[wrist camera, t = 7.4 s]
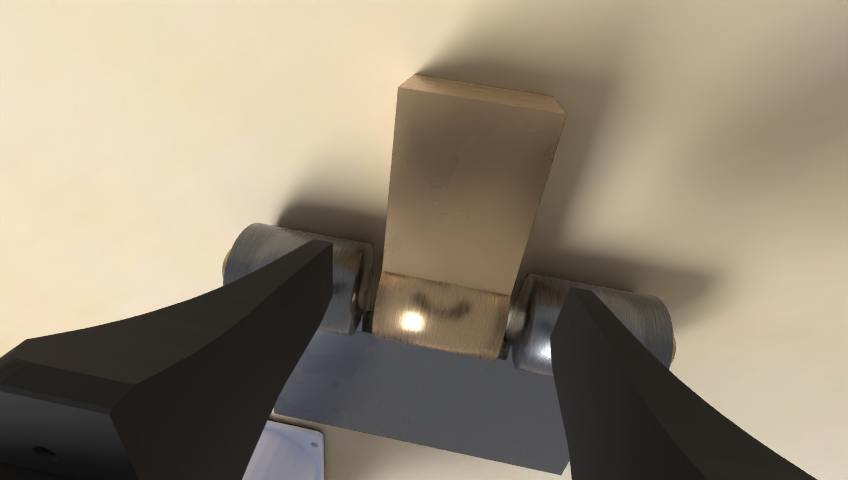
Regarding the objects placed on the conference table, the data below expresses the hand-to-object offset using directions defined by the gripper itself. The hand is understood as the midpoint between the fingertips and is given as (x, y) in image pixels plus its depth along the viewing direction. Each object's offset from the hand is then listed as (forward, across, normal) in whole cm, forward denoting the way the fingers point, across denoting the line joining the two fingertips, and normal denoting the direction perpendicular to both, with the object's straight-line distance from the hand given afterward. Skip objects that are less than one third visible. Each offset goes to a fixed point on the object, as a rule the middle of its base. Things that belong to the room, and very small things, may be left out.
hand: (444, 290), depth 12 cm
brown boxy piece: (+6, 0, 0) cm, 6 cm away
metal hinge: (+6, 0, +8) cm, 10 cm away
